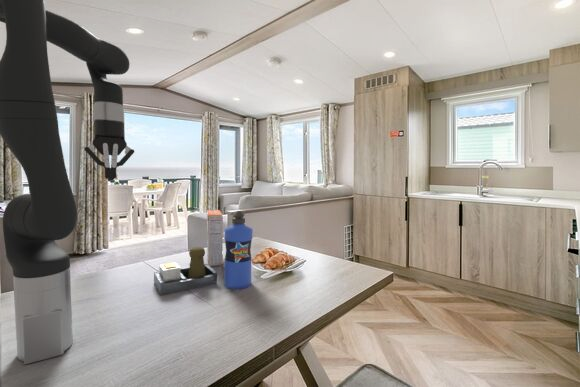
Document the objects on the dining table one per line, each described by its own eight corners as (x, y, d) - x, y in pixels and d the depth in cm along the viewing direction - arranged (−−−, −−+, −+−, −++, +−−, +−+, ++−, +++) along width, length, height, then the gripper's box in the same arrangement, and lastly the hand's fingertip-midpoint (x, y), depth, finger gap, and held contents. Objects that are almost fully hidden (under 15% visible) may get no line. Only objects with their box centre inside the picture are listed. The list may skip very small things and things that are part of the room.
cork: (209, 276, 106) (209, 246, 105) (201, 282, 100) (201, 250, 99) (193, 275, 107) (192, 244, 106) (184, 281, 101) (184, 249, 100)
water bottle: (254, 287, 100) (255, 213, 97) (226, 291, 96) (227, 214, 94) (247, 277, 108) (249, 209, 106) (221, 280, 105) (222, 210, 103)
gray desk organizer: (216, 283, 102) (217, 262, 101) (160, 295, 92) (160, 271, 91) (206, 274, 110) (206, 254, 110) (154, 284, 100) (153, 262, 100)
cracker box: (206, 256, 132) (206, 209, 130) (220, 255, 134) (220, 209, 132) (207, 266, 119) (207, 214, 117) (222, 265, 120) (223, 214, 119)
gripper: (81, 115, 79) (83, 181, 80) (136, 121, 86) (137, 181, 88) (81, 119, 85) (83, 180, 86) (133, 124, 92) (134, 180, 94)
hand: (110, 180), depth 87 cm, fingers closed
